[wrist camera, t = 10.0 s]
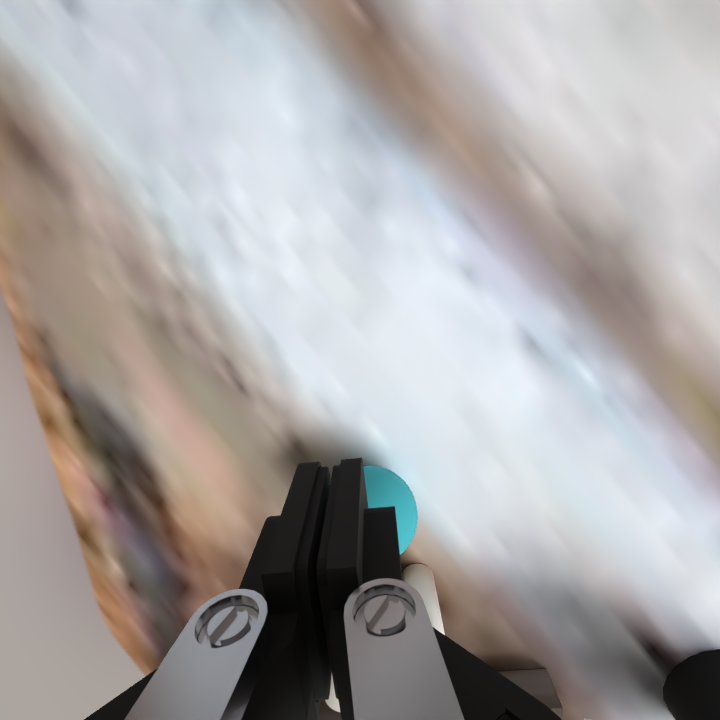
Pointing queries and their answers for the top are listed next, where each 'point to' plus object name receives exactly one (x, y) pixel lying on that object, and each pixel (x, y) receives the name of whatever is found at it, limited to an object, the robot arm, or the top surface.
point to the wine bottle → (695, 688)
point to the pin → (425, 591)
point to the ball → (392, 500)
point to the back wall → (528, 680)
